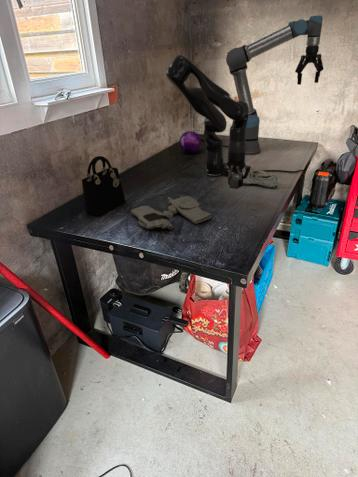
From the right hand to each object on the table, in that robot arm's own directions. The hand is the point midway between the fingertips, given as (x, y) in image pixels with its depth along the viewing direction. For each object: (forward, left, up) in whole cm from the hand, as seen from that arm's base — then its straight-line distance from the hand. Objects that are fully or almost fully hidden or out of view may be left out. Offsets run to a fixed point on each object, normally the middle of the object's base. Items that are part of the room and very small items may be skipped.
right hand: (307, 83), depth 213 cm
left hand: (+65, -84, -33) cm, 111 cm away
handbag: (+46, -144, -41) cm, 156 cm away
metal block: (+65, -84, -34) cm, 112 cm away
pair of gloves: (+69, -118, -41) cm, 143 cm away
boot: (-42, -51, -41) cm, 77 cm away
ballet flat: (+51, -65, -41) cm, 92 cm away
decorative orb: (-23, -74, -41) cm, 88 cm away
